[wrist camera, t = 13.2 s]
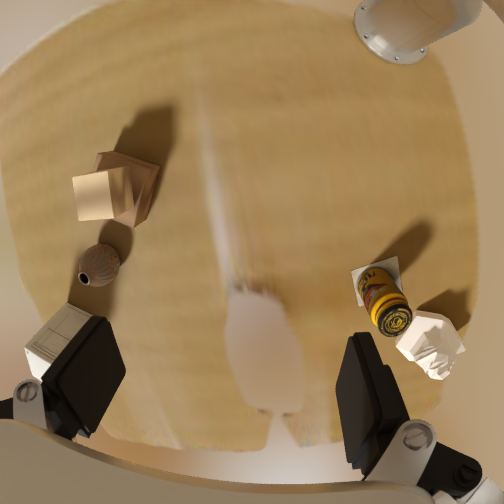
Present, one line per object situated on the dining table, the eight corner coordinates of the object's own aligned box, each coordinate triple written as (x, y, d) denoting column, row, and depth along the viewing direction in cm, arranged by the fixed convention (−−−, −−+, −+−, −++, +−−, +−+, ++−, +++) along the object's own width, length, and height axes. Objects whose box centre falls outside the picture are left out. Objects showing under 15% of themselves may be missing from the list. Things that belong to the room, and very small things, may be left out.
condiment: (350, 270, 45) (371, 311, 34) (396, 255, 43) (428, 290, 32) (358, 306, 47) (377, 350, 36) (401, 290, 45) (428, 330, 34)
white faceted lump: (414, 360, 53) (418, 411, 42) (387, 320, 51) (389, 376, 39) (461, 336, 47) (474, 387, 35) (440, 291, 44) (457, 344, 33)
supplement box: (68, 330, 56) (31, 375, 40) (66, 300, 52) (21, 345, 36) (101, 347, 56) (66, 397, 41) (101, 318, 53) (59, 370, 37)
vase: (131, 255, 46) (107, 278, 38) (116, 281, 49) (92, 305, 41) (103, 231, 45) (75, 249, 37) (89, 257, 47) (63, 278, 39)
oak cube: (96, 170, 36) (72, 177, 31) (129, 165, 36) (107, 170, 30) (101, 209, 39) (79, 220, 33) (134, 206, 38) (113, 218, 33)
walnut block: (114, 150, 40) (97, 153, 35) (161, 165, 41) (147, 169, 36) (102, 201, 43) (86, 208, 39) (146, 218, 44) (133, 228, 39)
